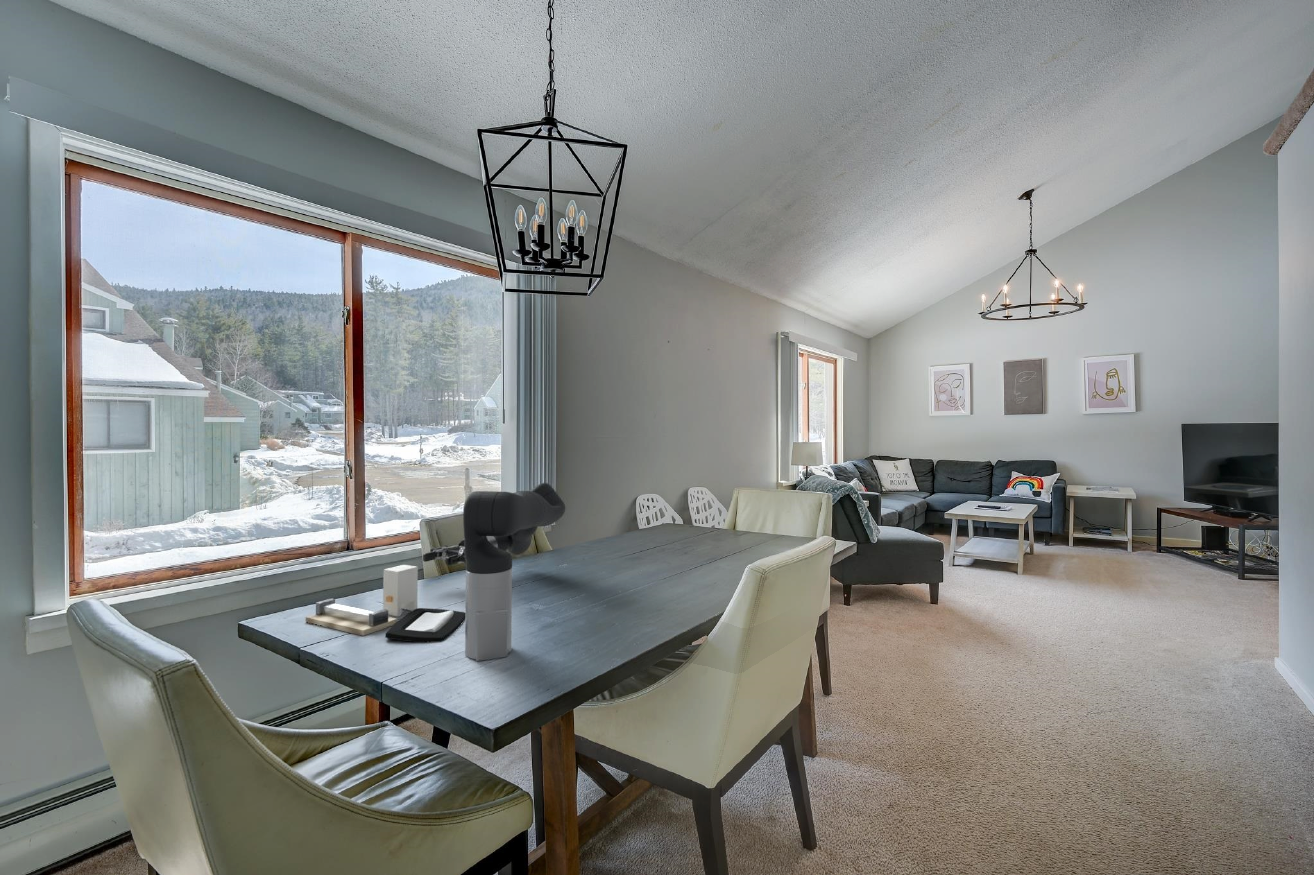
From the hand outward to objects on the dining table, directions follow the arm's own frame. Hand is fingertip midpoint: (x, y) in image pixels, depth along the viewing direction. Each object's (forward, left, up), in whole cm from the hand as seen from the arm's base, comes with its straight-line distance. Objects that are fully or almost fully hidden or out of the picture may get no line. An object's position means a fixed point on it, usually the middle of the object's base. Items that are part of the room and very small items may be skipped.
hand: (435, 559), depth 156 cm
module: (-8, +9, -11) cm, 16 cm away
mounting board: (-13, +19, -11) cm, 26 cm away
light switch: (-23, +3, -11) cm, 26 cm away
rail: (-13, +19, -10) cm, 25 cm away
